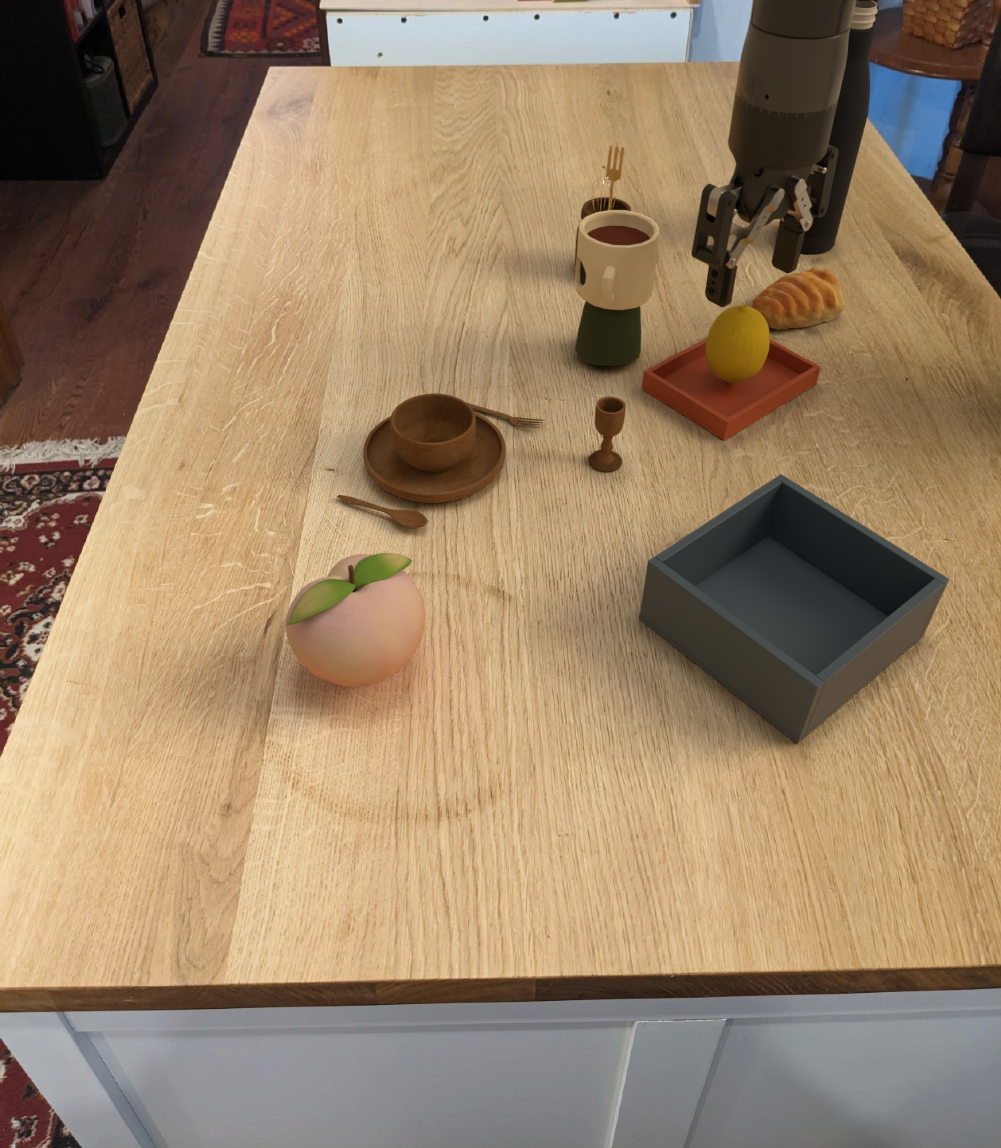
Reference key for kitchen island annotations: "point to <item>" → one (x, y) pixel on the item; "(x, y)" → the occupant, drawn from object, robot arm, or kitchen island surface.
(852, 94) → the black water bottle
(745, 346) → the lemon
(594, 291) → the character mug
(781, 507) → the bin
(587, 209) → the utensil holder
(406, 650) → the decorative fruit
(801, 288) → the pastry
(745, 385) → the tray
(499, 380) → the kitchen island surface
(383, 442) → the place setting
